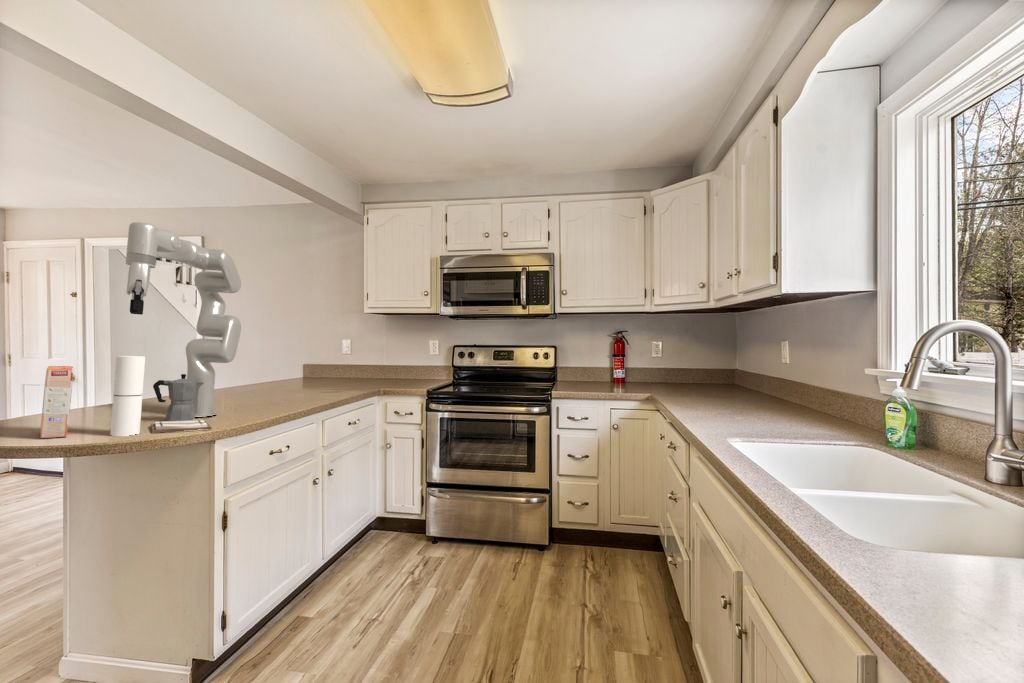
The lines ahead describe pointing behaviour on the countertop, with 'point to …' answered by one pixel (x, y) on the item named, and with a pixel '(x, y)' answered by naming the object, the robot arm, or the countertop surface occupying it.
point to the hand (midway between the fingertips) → (136, 313)
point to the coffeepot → (179, 397)
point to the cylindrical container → (127, 395)
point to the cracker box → (56, 401)
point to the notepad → (179, 425)
